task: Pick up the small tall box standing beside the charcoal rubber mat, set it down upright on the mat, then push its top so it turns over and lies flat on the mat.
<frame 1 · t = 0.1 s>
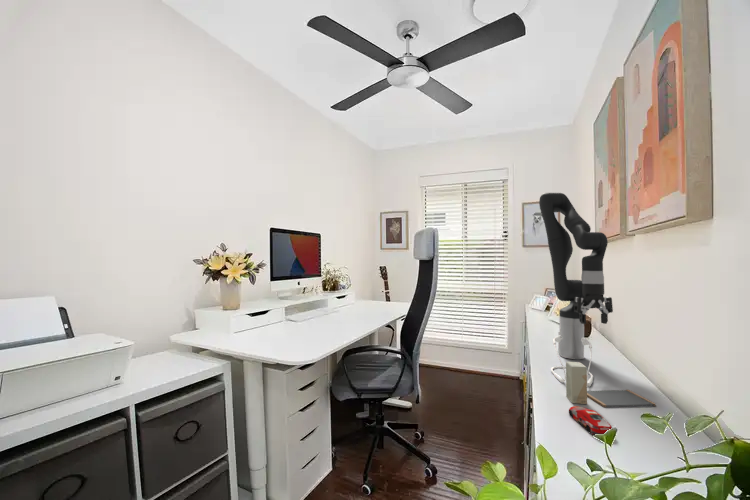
hand: (593, 323, 131), 17 cm above the sideboard, tool pointing down, fingers open, 8 cm apart
mat: (616, 399, 103), on the sideboard
earphone: (572, 377, 121), on the sideboard
race car: (589, 426, 88), on the sideboard
box: (576, 400, 102), on the sideboard
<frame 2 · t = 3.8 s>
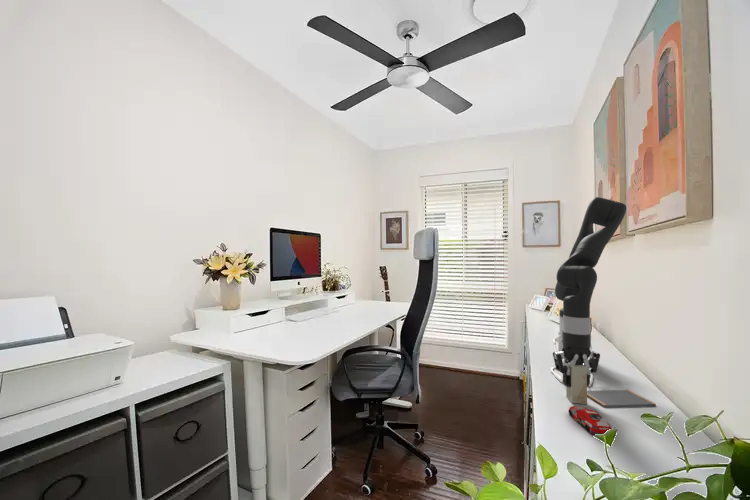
hand: (576, 385, 102), 4 cm above the sideboard, tool pointing down, fingers closed on box, 5 cm apart
box: (576, 400, 102), on the sideboard, touching gripper
everything else where it was.
when the fingers open (6 cm above the sideboard, at t = 8.8 s): box stays where it is, resting on mat.
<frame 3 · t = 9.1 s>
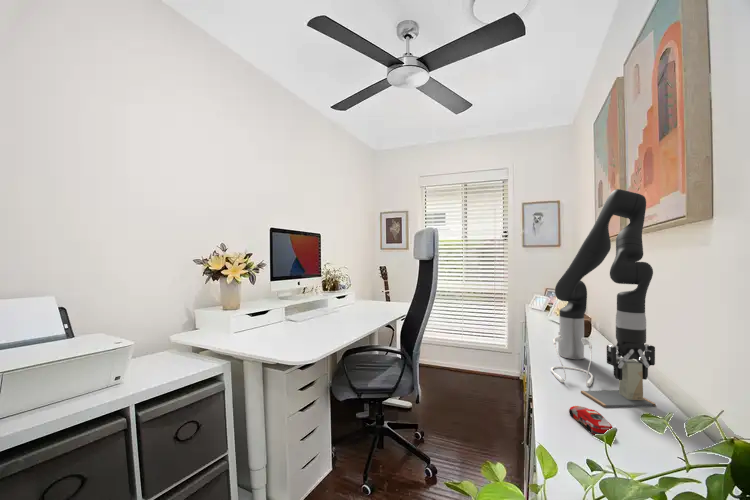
hand: (630, 378, 103), 6 cm above the sideboard, tool pointing down, fingers open, 7 cm apart
box: (630, 397, 103), resting on mat
everything else where it was.
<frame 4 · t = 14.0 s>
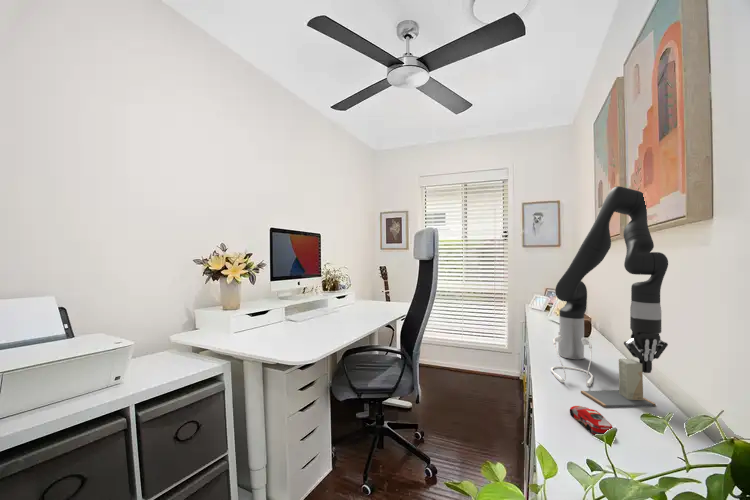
hand: (645, 372, 104), 8 cm above the sideboard, tool pointing down, fingers closed
box: (630, 397, 103), resting on mat, touching gripper
everything else where it was.
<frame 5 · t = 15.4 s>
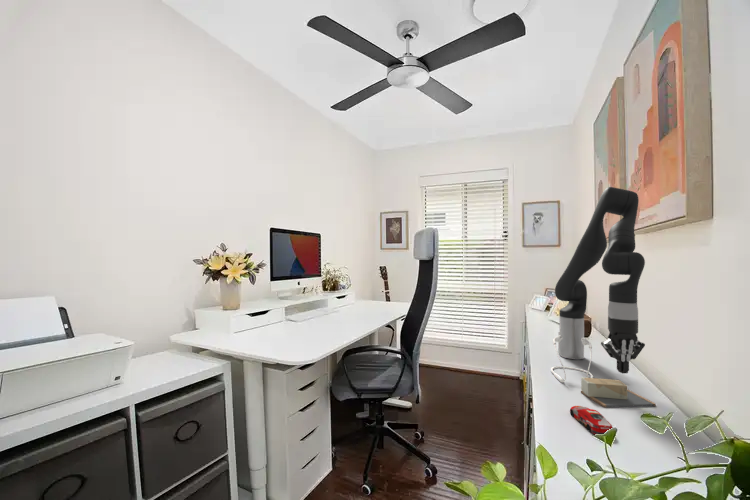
hand: (622, 372, 103), 8 cm above the sideboard, tool pointing down, fingers closed
box: (623, 389, 104), point 3 cm above the sideboard, touching mat
everything else where it was.
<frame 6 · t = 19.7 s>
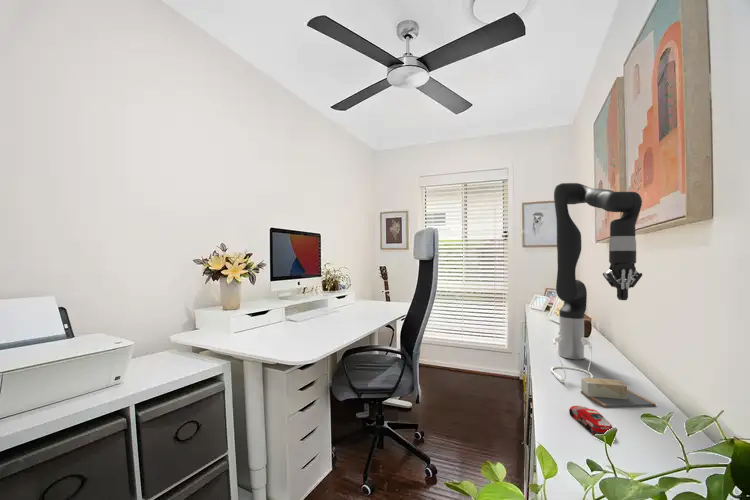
hand: (622, 299, 115), 29 cm above the sideboard, tool pointing down, fingers closed
nothing on the sideboard moved.
at the end: box tilted 89°; box inside the target area (4.7 cm from its centre), point 2.7 cm above the sideboard; the gripper is holding nothing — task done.
